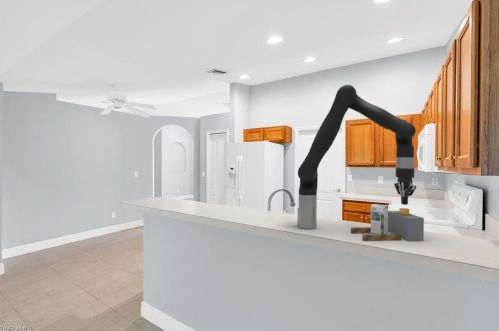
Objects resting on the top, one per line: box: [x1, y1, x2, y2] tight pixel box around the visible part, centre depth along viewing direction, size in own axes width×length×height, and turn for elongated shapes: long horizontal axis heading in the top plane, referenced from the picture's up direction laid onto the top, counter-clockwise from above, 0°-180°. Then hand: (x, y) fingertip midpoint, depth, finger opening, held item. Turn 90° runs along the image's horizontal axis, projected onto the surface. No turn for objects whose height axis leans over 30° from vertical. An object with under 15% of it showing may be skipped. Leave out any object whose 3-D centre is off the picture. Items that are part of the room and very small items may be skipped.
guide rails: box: [350, 226, 402, 242], centre depth 123 cm, size 17×13×2 cm
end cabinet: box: [388, 210, 425, 242], centre depth 124 cm, size 7×16×10 cm, turn 4°
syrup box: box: [370, 203, 389, 234], centre depth 123 cm, size 6×6×14 cm
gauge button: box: [398, 207, 410, 216], centre depth 123 cm, size 4×4×4 cm
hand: (404, 204), depth 123 cm, fingers closed
